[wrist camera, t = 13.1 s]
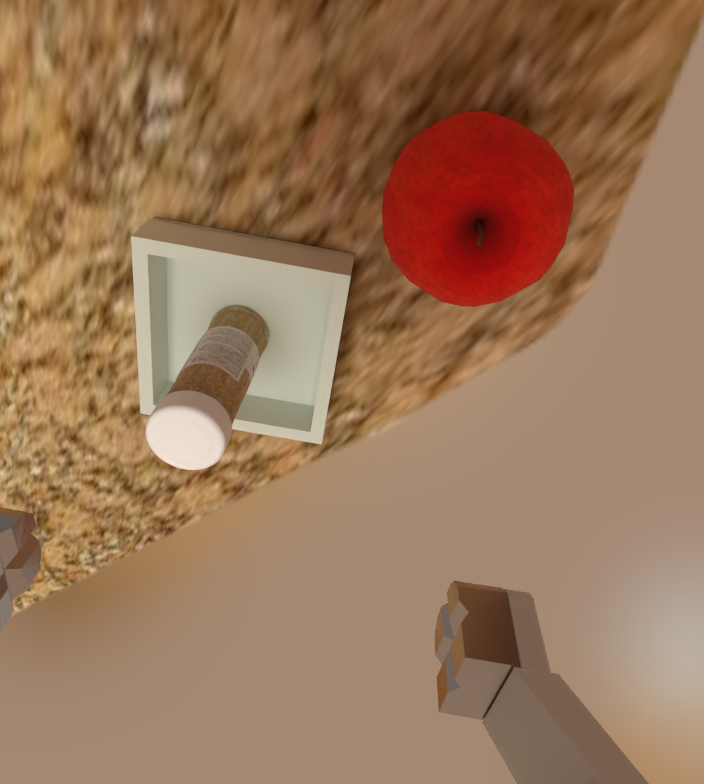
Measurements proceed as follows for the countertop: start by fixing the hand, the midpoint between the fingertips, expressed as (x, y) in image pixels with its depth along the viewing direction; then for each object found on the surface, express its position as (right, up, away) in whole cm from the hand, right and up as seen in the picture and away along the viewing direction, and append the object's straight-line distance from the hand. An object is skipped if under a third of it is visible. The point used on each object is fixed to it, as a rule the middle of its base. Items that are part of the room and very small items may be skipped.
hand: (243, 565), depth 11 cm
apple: (+9, +17, +26) cm, 32 cm away
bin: (-6, +9, +32) cm, 34 cm away
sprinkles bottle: (-6, +8, +32) cm, 34 cm away
